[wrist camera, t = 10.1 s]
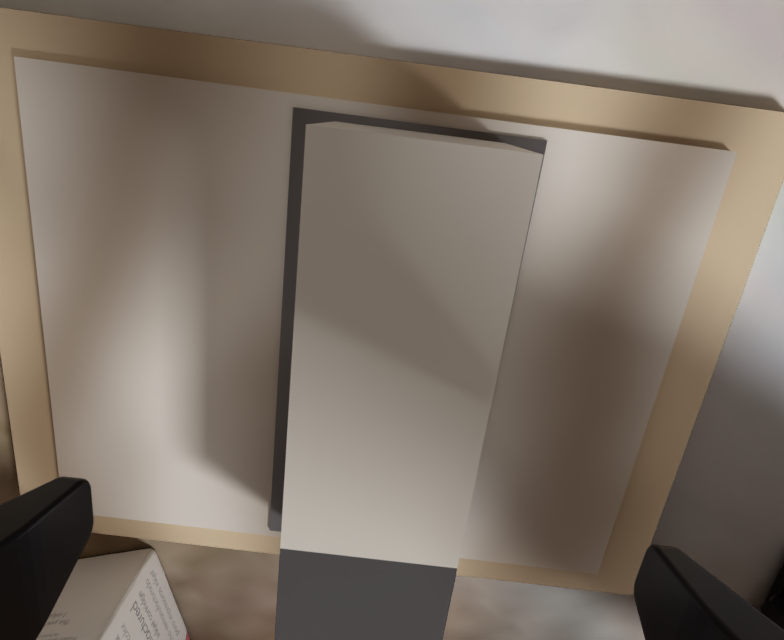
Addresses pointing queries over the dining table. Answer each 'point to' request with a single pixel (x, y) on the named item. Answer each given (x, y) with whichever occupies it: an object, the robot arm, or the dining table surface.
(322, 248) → the tall cream pillar
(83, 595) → the ink cartridge box
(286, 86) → the picture frame
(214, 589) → the dining table surface
